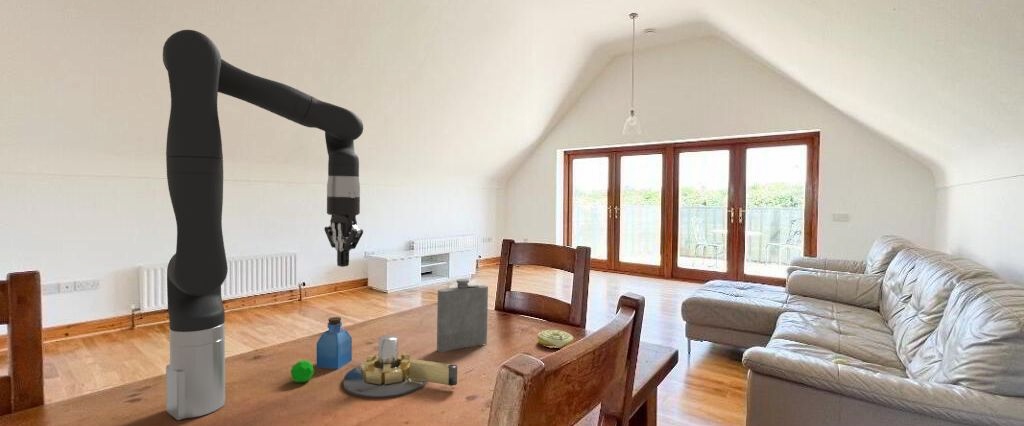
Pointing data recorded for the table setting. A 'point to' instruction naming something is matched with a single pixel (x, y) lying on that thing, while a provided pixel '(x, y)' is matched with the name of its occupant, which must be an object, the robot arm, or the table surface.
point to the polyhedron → (302, 371)
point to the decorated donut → (555, 338)
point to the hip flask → (462, 316)
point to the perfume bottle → (334, 346)
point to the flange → (386, 356)
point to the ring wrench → (408, 371)
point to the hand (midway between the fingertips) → (343, 266)
